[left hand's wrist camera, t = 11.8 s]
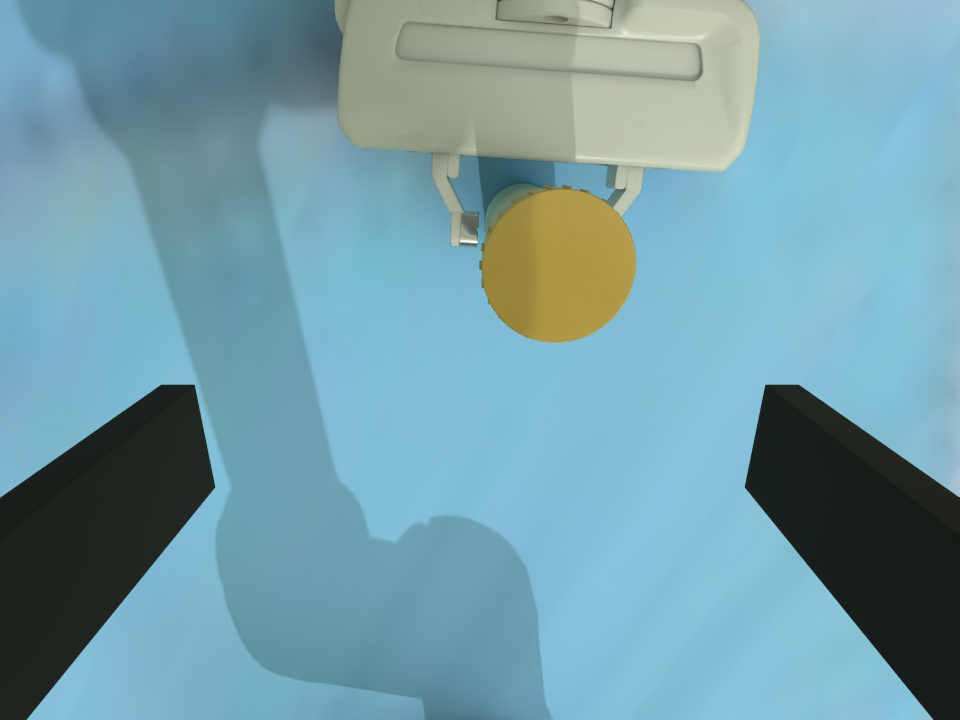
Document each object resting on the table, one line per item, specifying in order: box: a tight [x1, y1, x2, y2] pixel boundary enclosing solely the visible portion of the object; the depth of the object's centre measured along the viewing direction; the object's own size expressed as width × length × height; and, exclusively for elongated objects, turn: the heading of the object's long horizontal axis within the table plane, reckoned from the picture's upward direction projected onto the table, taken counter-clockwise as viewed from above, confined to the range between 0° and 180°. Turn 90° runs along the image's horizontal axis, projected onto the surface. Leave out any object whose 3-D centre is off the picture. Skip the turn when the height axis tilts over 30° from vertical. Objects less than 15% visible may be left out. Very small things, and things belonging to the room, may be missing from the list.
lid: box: [479, 185, 636, 343], centre depth 20 cm, size 6×6×2 cm
